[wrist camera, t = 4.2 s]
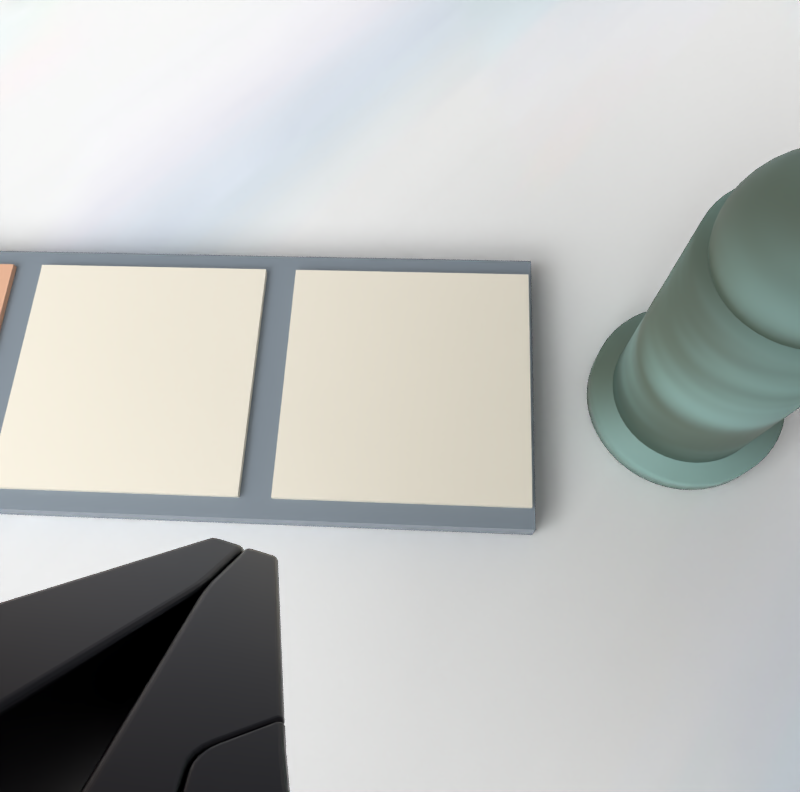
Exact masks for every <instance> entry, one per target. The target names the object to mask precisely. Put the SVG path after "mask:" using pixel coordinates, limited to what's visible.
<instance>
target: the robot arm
mask: <svg viewBox="0 0 800 792" xmlns="http://www.w3.org/2000/svg"><path fill="white" fill-rule="evenodd" d="M0 792H290V789H289V778H288V767H287V756H286V738H285V726H284V699H283V675H282V651H281V626H280V602H279V577H278V560H277V558H276V557H275V556H273V555H270V554H266V553H263V552H260V551H256V550H253V549H246V550H243V548H242V547H241V546H239V545H237V544H233V543H230V542H227V541H224V540H220V539H217V538H211V539H207V540H204V541H200V542H197V543H194V544H191V545H187V546H184V547H181V548H178V549H174V550H171V551H168V552H165V553H161V554H158V555H155V556H152V557H148V558H145V559H142V560H139V561H135V562H132V563H129V564H126V565H122V566H119V567H116V568H113V569H109V570H106V571H103V572H100V573H96V574H93V575H90V576H87V577H83V578H80V579H77V580H74V581H70V582H67V583H64V584H61V585H57V586H54V587H51V588H48V589H44V590H41V591H38V592H35V593H31V594H28V595H25V596H21V597H18V598H15V599H12V600H8V601H5V602H2V603H0Z"/></svg>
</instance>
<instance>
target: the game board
mask: <svg viewBox="0 0 800 792" xmlns="http://www.w3.org/2000/svg"><path fill="white" fill-rule="evenodd" d="M0 514H17V515H43V516H68V517H94V518H119V519H145V520H170V521H196V522H222V523H247V524H273V525H298V526H324V527H349V528H375V529H401V530H426V531H452V532H477V533H503V534H528V535H532V534H533V532H534V531H535V530H536V527H535V472H534V417H533V362H532V307H531V261H492V260H440V259H387V258H334V257H281V256H229V255H176V254H123V253H70V252H18V251H0Z"/></svg>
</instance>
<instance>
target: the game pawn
mask: <svg viewBox="0 0 800 792" xmlns="http://www.w3.org/2000/svg"><path fill="white" fill-rule="evenodd" d="M587 403H588V410H589V414H590V417H591V421H592V423H593V426H594V428H595V430H596V433H597V434H598V436H599V438H600V439H601V441H602V443H603V444H604V445H605V447H606V448H607V449H608V451H609V452H610V453H611V454H612V455H613V456H614V457H615V458H616V459H617V460H618V461H619V462H620V463H621V464H622V465H624V466H625V467H626V468H627V469H629V470H630V471H632V472H633V473H635V474H637V475H638V476H640V477H642V478H644V479H646V480H648V481H651V482H653V483H656V484H659V485H662V486H665V487H670V488H676V489H686V490H695V489H706V488H711V487H716V486H719V485H722V484H725V483H727V482H729V481H731V480H733V479H735V478H737V477H739V476H740V475H742V474H744V473H745V472H747V471H748V470H750V469H751V468H753V467H754V466H756V465H757V464H758V463H759V462H760V461H761V460H762V459H764V458H765V457H766V456H767V454H768V453H769V452H770V450H771V449H772V448H773V446H774V445H775V443H776V441H777V439H778V437H779V435H780V432H781V429H782V427H783V422H784V418H785V417H787V416H788V415H789V414H791V413H792V412H794V411H795V410H796V409H798V408H799V407H800V148H799V149H796V150H793V151H790V152H788V153H785V154H783V155H781V156H778V157H776V158H774V159H772V160H771V161H769V162H767V163H766V164H764V165H763V166H761V167H759V168H758V169H756V170H755V171H754V172H752V173H751V174H750V175H749V176H748V177H747V178H745V179H744V180H743V181H742V182H741V183H740V184H739V185H738V186H737V187H736V188H735V189H734V190H732V191H730V192H729V193H727V194H725V195H724V196H723V197H722V198H721V199H719V200H718V201H717V202H716V203H715V204H714V205H713V206H712V207H711V208H710V209H709V211H708V212H707V214H706V215H705V217H704V218H703V220H702V221H701V223H700V225H699V226H698V228H697V230H696V231H695V233H694V235H693V236H692V238H691V239H690V241H689V243H688V244H687V246H686V248H685V249H684V251H683V253H682V254H681V256H680V258H679V259H678V261H677V263H676V264H675V266H674V268H673V269H672V271H671V273H670V274H669V276H668V278H667V279H666V281H665V283H664V284H663V286H662V288H661V289H660V291H659V292H658V294H657V296H656V297H655V299H654V301H653V302H652V304H651V306H650V307H649V309H648V311H647V312H644V313H641V314H639V315H637V316H635V317H633V318H631V319H629V320H628V321H626V322H625V323H623V324H622V325H621V326H620V327H618V328H617V329H616V330H615V331H614V332H613V333H612V334H611V335H610V336H609V338H608V339H607V340H606V342H605V343H604V345H603V346H602V348H601V350H600V352H599V354H598V355H597V357H596V359H595V362H594V364H593V366H592V368H591V372H590V375H589V379H588V386H587Z"/></svg>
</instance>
